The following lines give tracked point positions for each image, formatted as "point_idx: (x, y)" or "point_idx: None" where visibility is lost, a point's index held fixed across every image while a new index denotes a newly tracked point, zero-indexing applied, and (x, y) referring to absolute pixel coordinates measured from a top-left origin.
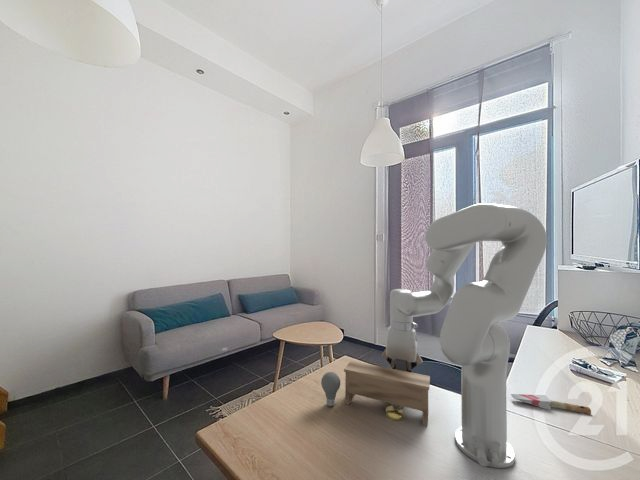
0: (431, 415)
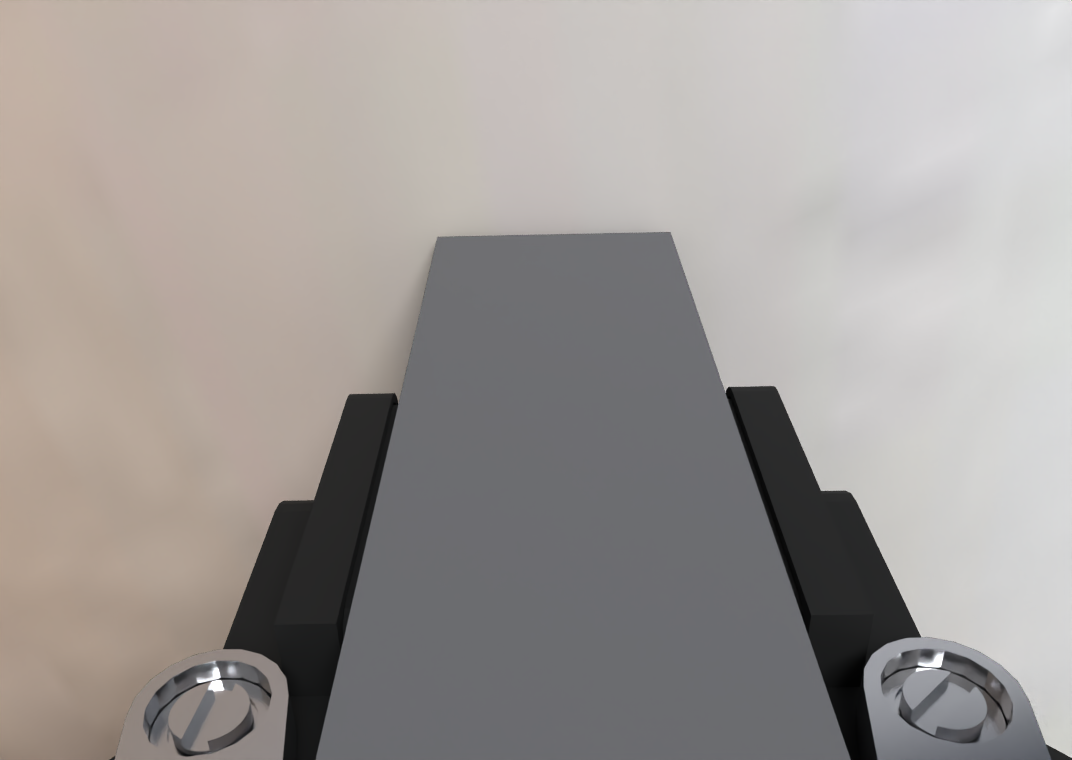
0: None
